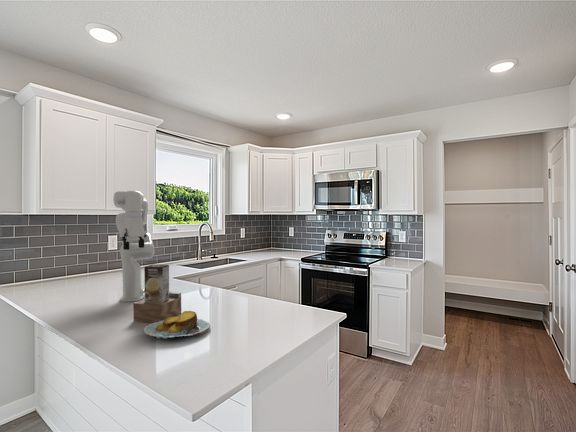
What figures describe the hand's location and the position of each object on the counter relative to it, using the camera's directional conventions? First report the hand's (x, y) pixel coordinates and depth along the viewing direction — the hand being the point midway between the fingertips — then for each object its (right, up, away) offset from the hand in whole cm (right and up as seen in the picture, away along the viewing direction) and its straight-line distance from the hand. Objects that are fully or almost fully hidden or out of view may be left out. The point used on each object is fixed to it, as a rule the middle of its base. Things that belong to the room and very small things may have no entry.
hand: (134, 248), depth 160 cm
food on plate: (+34, -31, -33) cm, 57 cm away
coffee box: (+18, -22, -16) cm, 33 cm away
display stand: (+19, -30, -16) cm, 39 cm away
